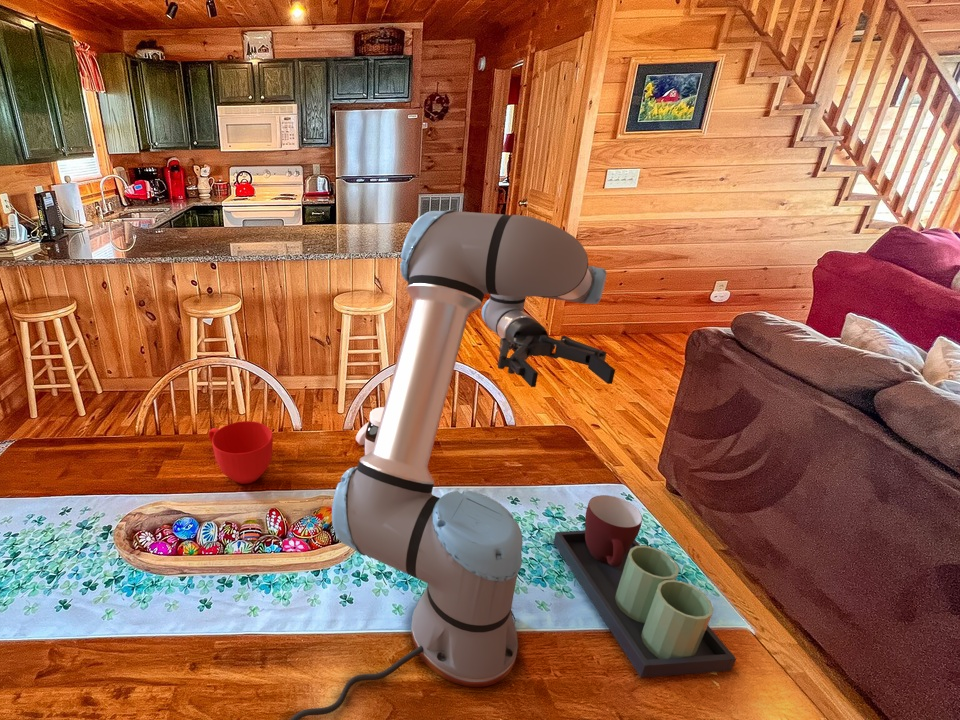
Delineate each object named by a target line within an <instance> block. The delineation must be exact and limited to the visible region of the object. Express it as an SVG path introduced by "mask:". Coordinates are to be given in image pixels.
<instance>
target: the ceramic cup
mask: <svg viewBox="0 0 960 720" xmlns="http://www.w3.org/2000/svg"><path fill="white" fill-rule="evenodd" d="M273 435H274V434H273V432H272V429H270V427H269V426H268V425H266V424H264V423H262V422H259V421H251V420H242V421H236V422H232V423H229V424H226V425H224V426H222V427H220V428H217V427H213V428H211V429H209V431H208V437H209V440H210V442H211V444H212V449H213V454H214V457H215V461H216V464H217V465H218V467H219V469H220V470H221V472H222V473H223V474H224V475H225V476H226V477H227V478H229V479H230V480H232V481H233V482H235V483H237V484H242V485H244V484H245V485H247V484H251V483H254V482H256V481H257V480H259V479H260V478H261V476H262V475H263V474H264V473H265V472H266V471H267V469H268V467H269V466H270V463H271V460H272V457H273V447H274V446H273V445H274V444H273V443H274V436H273Z"/></svg>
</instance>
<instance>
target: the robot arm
mask: <svg viewBox="0 0 960 720" xmlns="http://www.w3.org/2000/svg"><path fill="white" fill-rule="evenodd" d="M400 259H401V262H400V264H399V268H400V274H401V277H402V278H403V280H404V281H406V282H407V285H406V292H407V293H408V295H409V297H410V299H411V301H412V304H411V308H410V312H409V316H408V319H407V323H406V326H405V329H404V333H403V337H402V341H401V343H400V344H401V345H400V347H399V351H398V354H397V358H396V362H395V366H394V370H393V373H392V376H391V381H390V385H389V389H388V392H387V396H386V400H385V403H384V406H383V407H384V410H383V414H382V417H381V421H380V424H379V428H378V432H377V435H376V439H375V443H374V446H373V450H372V451H371V452H370V453H368V454H366V455H365V454H364V455H363V456H361V457H360V458H359V459H358V464H357V466H354V467H349V468H348V469H347V470H346V471H344V473H343V474H342V476H341V477H340V481H339V482H337V485H336V488H335V491H334V495H333V498H332V499H333V500H332V506H331V507H332V508H331V524H332V528H333V531H334V534H335V536H336V538H337V539H338V541H340V542H341V544H343V545H344V546H347V547H349V548H351V549H353V550H354V551H355V552H357V553H358V554H360V555H361V556H363V557H364V556H365V557H369V558H371V559H373V560H375V561H378V562H380V563H382V564H384V565H386V566H388V567H391V568H392V569H395V570H397V571H400V572H401V573H404V574H406V575H408V576H410V577H413V578H415V579H417V580H420V581H421V582H424V583H426V584H427V587H426V588H425V590H424V592H423V593H422V595H421V597H420V598H419V599H418V601H417V603H416V604H415V606H414V609H413V612H412V617H411V624H410V625H411V626H410V627H411V628H410V631H411V639H412V643H413V646H414V648H415V649H413V650H411V652H408V653H407V654H406V655H404V656H403V657H401V658H400V659H398V660H397V661H396V662H394V663H393V664H392V665H391V666H390V667H388V668H386V669H385V670H382V671H380V672H377V673H361V674H358V675H355V676H353V677H352V678H350V679H349V680H348V681H347V682H346V683H345V685H344V687H343V689H342V691H341V693H340V695H339V697H338V699H337V700H335V702H334V703H332V704H331V705H329V706H326V707H315V708H306V709H303V710H301V711H298V712H297V713H296V714H294V715H293V716H292V717H291V718H290V719H289V720H300V719H303V718H305V717H309V716H321V715H322V716H323V715H327V714H331V713H333V712H336V710H338V709H339V708H340V707H341V706H342V705H343V703H344V702H345V700H346V697H347V696H348V693H349V691H350V689H351V688H352V687H353V685H355V684H357V683H359V682H362V681H377V680H381V679H383V678H385V677H387V676H390V675H391V674H392V673H394V672H395V671H397V670H398V669H399V668H400V667H402V666H403V665H405V664H407V662H409V661H411V660H412V659H414V658H415V657H416V656H419V657H420V659H421V660H422V661H423V663H424V664H425V665H426V666H427V667H428V668H429V669H430V670H431V671H432V672H434V673H435V674H436V675H438V676H439V677H441V678H443V679H445V680H446V681H448V682H451V683H453V684H455V685H460V686H464V687H470V688H482V687H483V688H485V687H488V686H492V685H494V684H497V683H499V682H501V681H502V680H504V679H505V678H506V677H507V676H508V675H509V674H510V673H511V671H512V670H513V668H514V666H515V664H516V660H517V655H518V650H519V639H518V633H517V628H516V625H515V623H517V622H516V621H517V620H516V616H515V615H514V612H513V610H512V607H513V603H514V596H515V592H516V591H515V590H516V584H517V580H518V575H519V572H520V570H521V568H522V565H523V564H522V563H523V557H522V555H523V552H522V551H523V542H524V541H523V533H522V529H521V526H520V525H519V523H518V522H517V521H516V520H515V518H514V515H512V513H511V512H510V511H509V509H508V508H506V507H505V506H504V505H503V504H501V503H500V502H498V501H497V500H495V499H493V498H491V497H490V496H488V495H485V494H483V493H480V492H476V491H470V490H463V491H462V492H460V491H459V490H453V491H450V492H447V493H445V494H443V495H442V496H441V497H438V496H437V495H434V494H432V493H433V489H434V485H435V479H434V478H433V477H434V476H432V474H431V472H430V470H429V463H430V461H431V460H430V459H431V456H432V452H433V449H434V445H435V441H436V437H437V434H438V429H439V426H440V422H441V418H442V415H443V411H444V407H445V404H446V400H447V395H448V393H449V388H450V385H451V382H452V377H453V374H454V370H455V366H456V362H457V359H458V354H459V351H460V348H461V344H462V341H463V336H464V332H465V329H466V326H467V321H468V317H469V316H470V314H472V313H473V312H474V313H475V311H477V310H479V309H481V318H482V320H483V322H484V323H485V325H486V327H487V328H488V329H490V331H493V333H495V334H496V335H497V336H498V337H499V338H500V340H499V347H498V351H499V355H498V361H497V368H498V369H499V370H504V369H506V368H507V373H508V374H510V375H511V374H512V375H514V374H515V375H517V376H520V377H521V378H522V379H523V380H524V381H525V382H526V383H527V384H528V385H529V386H530V388H536V387H537V381H538V375H539V372H538V371H537V370H536V369H535V368H534V367H533V366H532V365H531V364H530V363H529V362H527V361H526V360H528V359H529V357H548V358H552V359H555V360H556V359H559V358H561V359H564V360H566V361H571V362H574V363H577V364H582V365H585V366H587V368H588V370H590V371H591V372H592V373H593V374H594V375H596V376H597V377H599V378H600V379H601V380H602V381H604V382H605V383H606V384H607V385H612V384H613V381H614V377H615V373H616V369H615V368H614V367H612V366H611V365H610V364H609V363H608V362H607V361H606V358H607V351H605V350H603V349H599V348H597V347H594V346H592V345H588V344H585V343H583V342H580V341H578V340H575V339H572V338H570V337H569V336H567V335H561V336H560V339H555V338H553V337H551V336H549V334H548V332H547V329H546V328H545V327H544V326H543V324H541V323H540V322H539V321H537V320H535V318H534V317H532V316H531V315H529V314H528V313H527V312H525V311H524V309H525V303H526V298H527V297H528V298H529V297H536V298H542V299H543V298H544V299H551V300H558V301H564V302H571V303H577V304H581V305H584V304H587V305H597V304H598V303H600V301H601V299H602V296H603V293H604V289H605V285H606V281H607V270H606V269H605V268H603V267H597V266H594V265H589V257H588V253H587V251H586V249H585V247H584V246H583V244H582V243H581V242H580V241H579V240H578V239H577V238H576V237H575V236H574V235H572V234H571V233H569V232H568V231H566V230H564V229H563V228H560V227H558V226H556V225H555V224H552V223H550V222H548V221H545V220H543V219H540V218H536V217H532V216H527V215H523V214H522V215H521V214H502V213H490V212H489V213H488V212H473V211H471V212H470V211H458V210H457V209H448V210H447V209H446V210H430V211H427V212H425V213H423V214H422V215H420V216H419V217H418V218H416V219H415V221H414V222H413V224H412V225H411V226H410V228H409V230H408V232H407V234H406V237H405V239H404V242H403V245H402V249H401V254H400ZM486 294H488V295H490V296H489V298H488V300H486V301H485V302H484V304H483V301H484V298H485V295H486ZM510 351H513V352H512V354H511V355H510V356H509V357H508V355H509V353H510Z"/></svg>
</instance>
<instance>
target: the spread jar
mask: <svg viewBox="0 0 960 720" xmlns="http://www.w3.org/2000/svg"><path fill="white" fill-rule="evenodd" d="M383 410H384V406H380V407H376V408H374V409H373V408H372V410H371V411H370V412H369V421H368V422H366V423H364V424H363V425H362V427H361V428H360V429H359V430H358V432H357V433H356V436H355V441H356V442H357V443H358V445H360V446H364V456H365V455H366V454H368V453H370V452H371V451H372V450H373V446H374V443H375V439H376V435H377V432H378V428H379V424H380V421H381V417H382V414H383Z"/></svg>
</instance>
